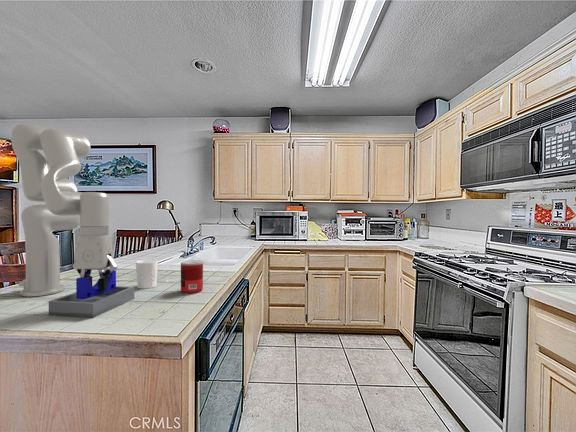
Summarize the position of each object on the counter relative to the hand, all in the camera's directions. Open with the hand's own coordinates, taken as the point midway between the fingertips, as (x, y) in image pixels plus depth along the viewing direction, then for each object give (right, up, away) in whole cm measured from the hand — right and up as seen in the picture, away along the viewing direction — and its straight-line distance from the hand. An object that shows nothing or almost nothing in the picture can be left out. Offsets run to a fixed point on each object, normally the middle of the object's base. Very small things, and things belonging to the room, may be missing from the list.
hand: (95, 289), depth 92 cm
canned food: (+24, -5, +18) cm, 31 cm away
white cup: (+5, -5, +24) cm, 25 cm away
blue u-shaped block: (0, -1, 0) cm, 1 cm away
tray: (0, -5, 0) cm, 5 cm away
